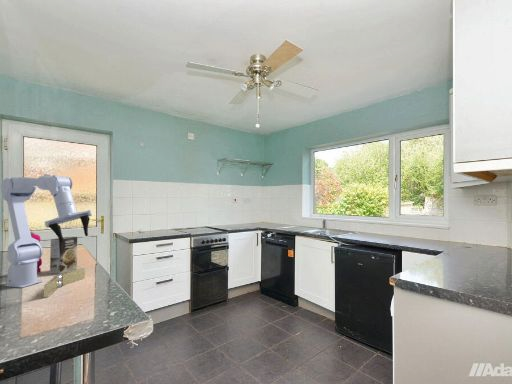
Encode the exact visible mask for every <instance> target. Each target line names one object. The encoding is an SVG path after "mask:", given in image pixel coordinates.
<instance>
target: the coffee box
mask: <svg viewBox="0 0 512 384" xmlns="http://www.w3.org/2000/svg"><path fill="white" fill-rule="evenodd" d="M63 239H64V243H61V242H60V240H59V238H58V237H57V238H51V239H50V251H49V252H50V258H49V261H50V262H49V273H50V274H54V275H61V274H64V273H68V272H71V271H74V270H78V236H64V237H63Z"/></svg>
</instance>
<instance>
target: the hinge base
mask: <svg viewBox="0 0 512 384" xmlns="http://www.w3.org/2000/svg"><path fill="white" fill-rule="evenodd" d="M60 275H62V281H60V282H58V288H57V289H59V288H62V287H64V286H66V285H70V284H73V283H76V282H79V281H81V280H85V279H86V268H85V267H82V268H77V269H75V270H72V271H69V272H65V273H62V274H60ZM84 278H85V279H84Z"/></svg>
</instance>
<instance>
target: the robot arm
mask: <svg viewBox="0 0 512 384" xmlns="http://www.w3.org/2000/svg"><path fill="white" fill-rule="evenodd" d="M72 187H73V180H72V178H71V177H68V176H59V175H58V174H53V175H51V174H49V173H48V174H47V173H46V174H44V175H41V176H39V177H38V178H37V177H27V176H18V177H16V176H15V177H5V178H4V179H3V180H2V182H1V185H0V190H1V194H2V195H1V196H2V200H4V201H6V203H7V207H8V212H9V217H10V223H11V227H12V228H11V229H12V233H13V236H14V241H13V242H12V243H10V244H9V245H8V246H7V260H8V262H9V263H10V265H9V266H8V268H7V283H6V284H5V285H4V287H11V288H21V289H22V288H25V287H29V286H31V285H32V286H33V285H35V284H38V283H42V282H43V279H38V273H37V261H39V259H40V258H41V259H42V256H43V253H44V249H43V247H42V245H41V243H40V242H39V241H38V240H36V239H34V238H32V237H31V233H30V232H31V230H30V225H29V220H28V216H27V211H26V206H25V201H28V200H30V199H31V198H32V196H33V195H34V194H35V192H36V190H37V189H39V190H41V191H42V190H43V191H48V192H50V195H51V196H52V197H53V200H54V203H55V207H56V211H57V214H58V216H57V217H54V218H52V219H50V220H46V221H44V226H45V228H50V229H51V231H53V233H54V234H55V235H56V236H57V238H59V240H60V242H61V243H64V239H63V238H64V237H63V233H62V229H61V224H64V223H69V222H72V221H75V220H79V219H80V222H81V224H82V225H81V226H82V228H83V232H84V235H85V237H88V236H89V232H88V230H89V223H90V217H92V216H93V215H92V211H91V210H90V209H89V210H85V211H79V212H78V211H77V208H76V204H75V201H74V197H73V194H72Z"/></svg>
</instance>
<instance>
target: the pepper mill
mask: <svg viewBox="0 0 512 384" xmlns="http://www.w3.org/2000/svg"><path fill="white" fill-rule="evenodd" d="M30 233H31V237H32V238H34V239H36V240H38V241H39V243H40V242H41V240H42V239H41V236H40V235H39V234H36V232H35V231H34V230H30ZM42 265H43V260H42V257H41V258H40V259H39V261H37V274H40V273H41V270H42V269H41V266H42Z"/></svg>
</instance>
